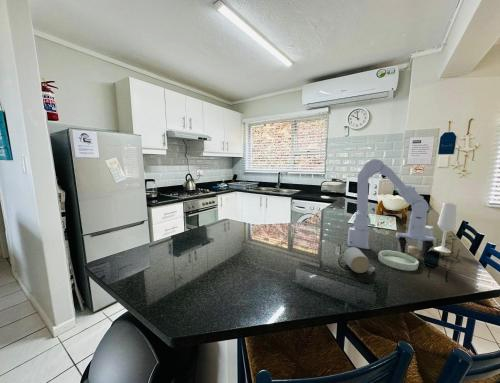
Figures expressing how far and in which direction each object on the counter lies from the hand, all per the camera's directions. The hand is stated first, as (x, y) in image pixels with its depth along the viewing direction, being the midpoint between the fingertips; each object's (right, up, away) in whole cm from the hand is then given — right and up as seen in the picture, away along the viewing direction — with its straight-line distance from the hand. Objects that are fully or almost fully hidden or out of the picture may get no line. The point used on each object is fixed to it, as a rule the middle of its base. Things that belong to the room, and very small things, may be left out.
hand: (412, 255), depth 97 cm
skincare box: (+14, -1, +11) cm, 18 cm away
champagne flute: (+24, -1, +11) cm, 26 cm away
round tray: (-11, -2, -5) cm, 12 cm away
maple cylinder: (0, -1, 0) cm, 2 cm away
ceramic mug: (-31, -2, -12) cm, 33 cm away
